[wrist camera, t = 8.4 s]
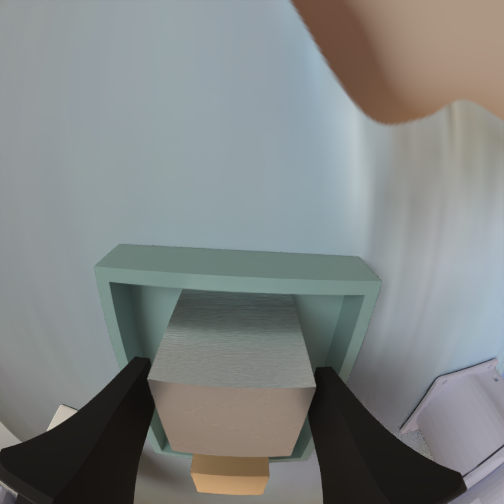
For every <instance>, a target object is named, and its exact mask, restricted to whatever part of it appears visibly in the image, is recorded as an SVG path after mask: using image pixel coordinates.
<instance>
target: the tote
mask: <svg viewBox="0 0 504 504" xmlns="http://www.w3.org/2000/svg"><path fill="white" fill-rule="evenodd" d="M94 270H95V275H96V281H97V286H98V291H99V296H100V300H101V305H102V309H103V313H104V317H105V321H106V325H107V329H108V332H109V336H110V339H111V343H112V346H113V350H114V353H115V356H116V359H117V362H118V365H119V368H120V371H121V370H122V369H123V368H124V367H125V366H126V365H127V364H128V363H129V362H130V361H131V360H132V359H133V358H134V357H135V356H137V357H143V358H150V362H151V366H152V364H153V362H154V359H155V356H156V354H157V351H158V348H159V346H160V343H161V341H162V338H163V336H164V333H165V331H166V328H167V326H168V323H169V321H170V318H171V316H172V313H173V311H174V308H175V306H176V303H177V301H178V299H179V296H180V294H181V291H182V289H183V288H184V289H198V290H213V291H230V292H250V293H274V294H291V296H292V299H293V303H294V306H295V310H296V313H297V317H298V320H299V324H300V328H301V331H302V335H303V338H304V342H305V346H306V349H307V353H308V357H309V361H310V364H311V368H312V372H313V376H314V373H315V370H316V367H329V366H331V367H332V368H333V369H334V370H335V371H336V373H337V374H338V375H339V377H340V378H341V379H342V381H343V382H344V383H345V384H346V383H347V380H348V378H349V376H350V373H351V371H352V368H353V366H354V363H355V361H356V358H357V356H358V353H359V350H360V348H361V345H362V342H363V339H364V337H365V334H366V331H367V328H368V325H369V322H370V319H371V316H372V313H373V310H374V306H375V303H376V300H377V297H378V293H379V290H380V286H381V282H382V281H381V280H380V279H379V278H378V277H377V276H376V274H375V273H374V272H373V271H372V270H371V269H370V268H369V267H368V266H367V265H366V264H365V263H364V262H363V260H362V259H361V258H360V257H354V256H335V255H317V254H298V253H279V252H260V251H241V250H222V249H203V248H184V247H165V246H145V245H126V244H119V245H118V246H117V247H115V248H114V249H113V250H112V251H111V252H110V253H108V254H107V255H106V256H105V257H104V258H103V259H102V260H100V261H99V262H98V263H97V264H96V265H95V266H94ZM147 437H148V439H149V441H150V443H151V445H152V447H153V449H154V451H155V453H158V454H164V455H169V456H176V457H182V458H190V459H192V458H193V453H186V452H179V451H172V448H171V446H170V443H169V441H168V438H167V436H166V433H165V431H164V428H163V425H162V423H161V420H160V417H159V414H158V411H157V408H156V405H155V410H154V414H153V417H152V421H151V424H150V427H149V430H148V433H147ZM314 448H315V445H314V441H313V437H312V433H311V429H310V425H309V420H308V412H307V415H306V418H305V421H304V423H303V426H302V428H301V431H300V434H299V436H298V439H297V441H296V444H295V446H294V448H293V451H292V453H291V456H277V457H268V462H269V463H270V462H291V461H304V460H308V458H309V456H310V455H311V453H312V451H313V449H314Z"/></svg>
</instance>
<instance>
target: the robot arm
mask: <svg viewBox="0 0 504 504" xmlns="http://www.w3.org/2000/svg"><path fill="white" fill-rule="evenodd" d="M497 363H498V359H497V358H495V359H493V360H490V361H487V362H485V363H482V364H479V365H476V366H473V367H470V368H467V369H464V370H461V371H458V372H454V373H451V374H448V375H444V376H441V377H439V378H437V379H436V380H435V382H434V383H433V385H432V386H431V388H430V389H429V391H428V392H427V394H426V395H425V397H424V398H423V400H422V401H421V403H420V404H419V406H418V407H417V408H416V410H415V411H414V413H413V414H412V415H411V417H410V418H409V419H408V421H407V422H406V423H405V424H404V426H403V427H402V428H401V429H400V431H399V432H400V434H406V433H409V432H412V431H415V430H419V429H420V431H421V433H422V435H423V437H424V440H425V442H426V444H427V446H428V448H429V450H430V453H431V455H432V457H433V459H434V461H432V460H430V459H428V458H426V457H424V456H423V455H421V454H419V453H418V452H416V451H415V450H413V449H412V448H410V447H409V446H407V445H406V444H404V443H403V442H401V441H400V440H399V439H398V438H396V437H395V436H394V435H393V434H391V433H390V432H389V431H388V430H387V429H386V428H385V427H384V426H382V425H381V424H380V423H379V422H378V421H377V420H376V419H375V418H374V417H373V416H372V415H371V414H370V413H369V411H368V410H367V409H366V408H365V407H364V406H363V405H362V404H361V402H360V401H359V400H358V399H357V398H356V397H355V395H354V394H353V393H352V392H351V391H350V389H349V388H348V387H347V386H346V384H345V383H344V382H343V381H342V379H341V378H340V377H339V375H338V374H337V373H336V371H335V370H334V369H333V368H332V367H331V366H329V367H316V370H315V373H314V380H315V383H316V389H315V392H314V395H313V398H312V401H311V404H310V407H309V410H308V420H309V425H310V429H311V433H312V437H313V441H314V445H315V449H316V453H317V458H318V462H319V466H320V472H321V480H322V490H323V504H504V379H503V378H502V377H501V375H500V374H499V373H498V371H497V370H496V369H495V367H496V365H497ZM151 367H152V366H151V362H150V358H143V357H137V356H135V357H134V358H133V359H132V360H131V361H130V362H129V363H128V364H127V365H126V366H125V367H124V368H123V369H122V370H121V371H120V373H119V374H118V375H117V376H116V377H115V378H114V379H113V380H112V381H111V382H110V383H109V384H108V385H107V386H106V387H105V388H104V389H103V390H102V391H101V392H100V393H98V394H97V395H96V396H95V397H94V398H93V399H92V400H91V401H89V402H88V403H87V404H86V405H85V406H84V407H82V408H81V409H80V410H79V411H77V412H76V413H75V414H73V415H72V416H71V417H69V418H68V419H67V420H65V421H63V422H62V423H60V424H59V425H57V426H56V427H54V428H52V429H51V430H49V431H47V432H45V433H43V434H41V435H39V436H37V437H35V438H32V439H30V440H28V441H25V442H23V443H20V444H17V445H14V446H10V447H7V448H3V449H2V450H1V451H0V480H1V481H2V482H3V483H4V484H6V485H7V486H8V487H10V488H11V489H13V490H14V491H15V492H17V493H18V495H15V494H14V493H12V492H11V491H9V490H7V489H5V488H4V487H3V486H2V485H1V484H0V504H133V502H134V492H135V483H136V476H137V470H138V464H139V460H140V456H141V452H142V449H143V446H144V443H145V439H146V436H147V433H148V430H149V427H150V424H151V421H152V417H153V414H154V410H155V403H154V399H153V396H152V393H151V390H150V387H149V384H148V380H147V378H148V375H149V372H150V370H151Z"/></svg>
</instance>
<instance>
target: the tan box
mask: <svg viewBox="0 0 504 504" xmlns="http://www.w3.org/2000/svg"><path fill="white" fill-rule="evenodd" d="M191 475H192V478H193V480H194V483H195V486H196V488H197V491H198V492H205V493H216V494H233V495H262V494H263V492H264V489H265V487H266V484H267V481H268V479H269V462H268V457H233V456H215V455H204V454H194V453H193V458H192V465H191Z"/></svg>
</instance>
